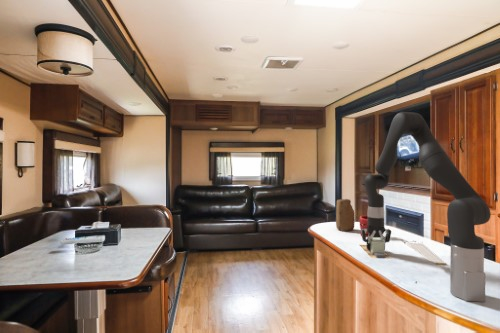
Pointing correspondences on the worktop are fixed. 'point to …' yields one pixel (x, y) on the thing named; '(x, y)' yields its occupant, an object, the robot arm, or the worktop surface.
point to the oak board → (370, 253)
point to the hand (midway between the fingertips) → (375, 250)
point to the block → (344, 215)
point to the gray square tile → (379, 254)
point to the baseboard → (426, 253)
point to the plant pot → (364, 224)
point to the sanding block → (377, 246)
